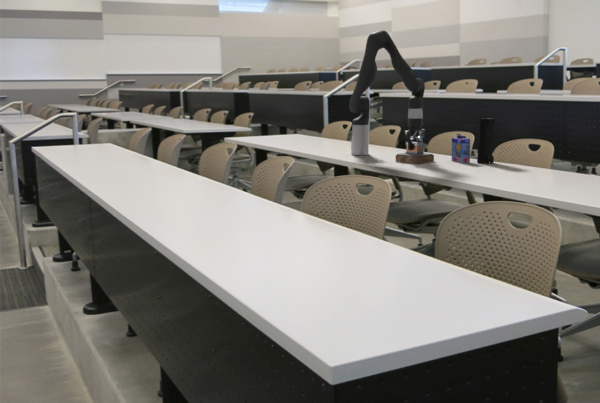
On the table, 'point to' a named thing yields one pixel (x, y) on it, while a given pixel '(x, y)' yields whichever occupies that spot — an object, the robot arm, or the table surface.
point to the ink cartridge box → (461, 149)
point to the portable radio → (485, 140)
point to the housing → (415, 148)
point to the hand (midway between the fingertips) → (414, 149)
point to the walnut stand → (414, 158)
